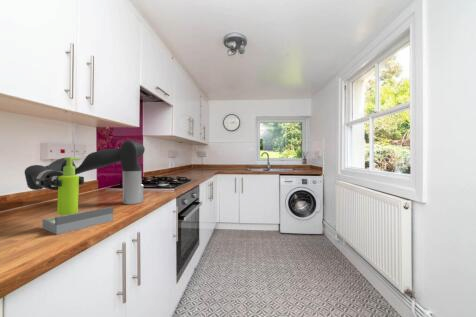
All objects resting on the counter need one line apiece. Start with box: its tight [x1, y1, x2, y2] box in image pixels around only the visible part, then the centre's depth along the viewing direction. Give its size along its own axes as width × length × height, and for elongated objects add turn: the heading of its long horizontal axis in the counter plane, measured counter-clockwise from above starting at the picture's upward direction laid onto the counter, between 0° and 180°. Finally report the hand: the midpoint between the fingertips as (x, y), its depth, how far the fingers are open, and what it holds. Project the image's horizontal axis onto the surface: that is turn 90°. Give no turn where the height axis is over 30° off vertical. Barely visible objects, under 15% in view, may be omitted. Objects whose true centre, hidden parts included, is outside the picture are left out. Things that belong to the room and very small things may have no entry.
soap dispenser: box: [56, 156, 80, 216], centre depth 80 cm, size 6×7×20 cm
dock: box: [41, 206, 114, 236], centre depth 82 cm, size 18×12×5 cm, turn 148°
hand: (71, 182), depth 78 cm, fingers closed on soap dispenser, 6 cm apart
